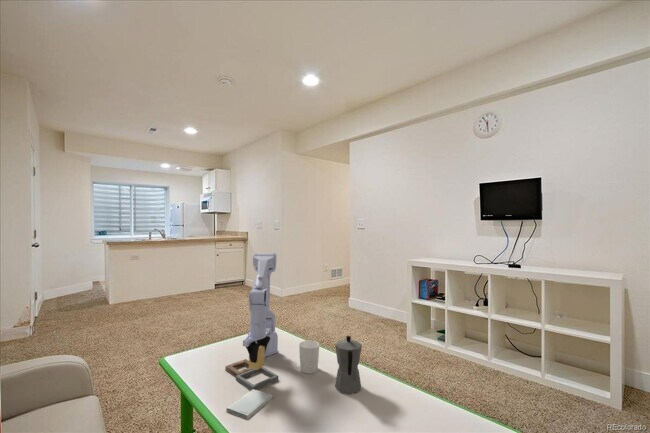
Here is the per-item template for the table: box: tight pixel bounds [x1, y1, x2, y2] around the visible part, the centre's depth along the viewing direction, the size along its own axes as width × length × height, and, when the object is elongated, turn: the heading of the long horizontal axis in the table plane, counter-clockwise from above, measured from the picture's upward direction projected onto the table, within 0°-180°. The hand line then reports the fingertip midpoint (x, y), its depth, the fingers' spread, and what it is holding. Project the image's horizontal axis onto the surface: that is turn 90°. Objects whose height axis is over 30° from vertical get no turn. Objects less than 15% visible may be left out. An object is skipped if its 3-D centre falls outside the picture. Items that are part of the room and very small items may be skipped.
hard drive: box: [225, 389, 273, 420], centre depth 99 cm, size 2×8×12 cm
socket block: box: [224, 358, 252, 378], centre depth 121 cm, size 9×9×2 cm
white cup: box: [298, 340, 320, 374], centre depth 123 cm, size 8×8×10 cm
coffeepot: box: [334, 335, 363, 395], centre depth 109 cm, size 15×9×18 cm, turn 179°
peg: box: [248, 345, 266, 370], centre depth 114 cm, size 4×4×7 cm
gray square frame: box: [235, 366, 279, 391], centre depth 114 cm, size 11×11×2 cm
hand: (257, 359), depth 114 cm, fingers closed on peg, 4 cm apart
